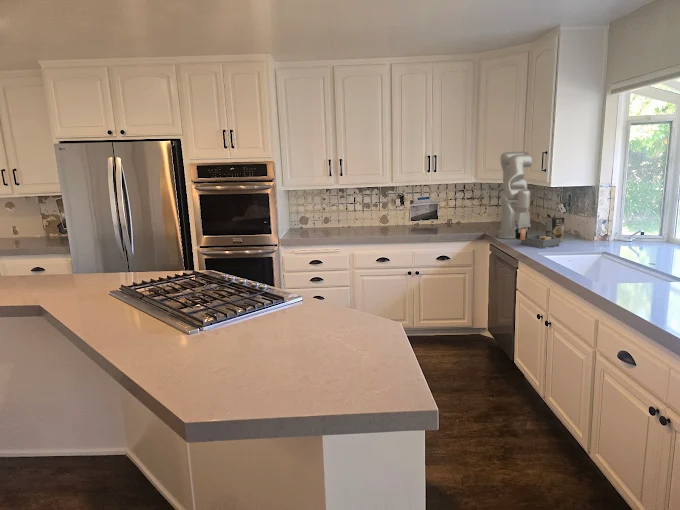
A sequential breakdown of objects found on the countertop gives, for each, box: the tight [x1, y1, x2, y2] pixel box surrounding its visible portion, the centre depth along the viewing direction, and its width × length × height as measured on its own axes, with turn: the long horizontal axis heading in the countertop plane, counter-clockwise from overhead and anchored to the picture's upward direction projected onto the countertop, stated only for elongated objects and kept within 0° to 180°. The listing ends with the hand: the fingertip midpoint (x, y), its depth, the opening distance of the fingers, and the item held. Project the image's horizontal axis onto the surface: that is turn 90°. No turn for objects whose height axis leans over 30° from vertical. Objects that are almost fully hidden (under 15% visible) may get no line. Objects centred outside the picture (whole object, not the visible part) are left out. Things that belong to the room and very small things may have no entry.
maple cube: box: [539, 235, 551, 240], centre depth 289 cm, size 5×5×5 cm
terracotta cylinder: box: [516, 228, 526, 241], centre depth 287 cm, size 5×5×7 cm
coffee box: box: [545, 216, 565, 243], centre depth 302 cm, size 9×6×16 cm
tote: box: [520, 234, 560, 249], centre depth 293 cm, size 18×14×5 cm
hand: (521, 237), depth 288 cm, fingers closed on terracotta cylinder, 5 cm apart
